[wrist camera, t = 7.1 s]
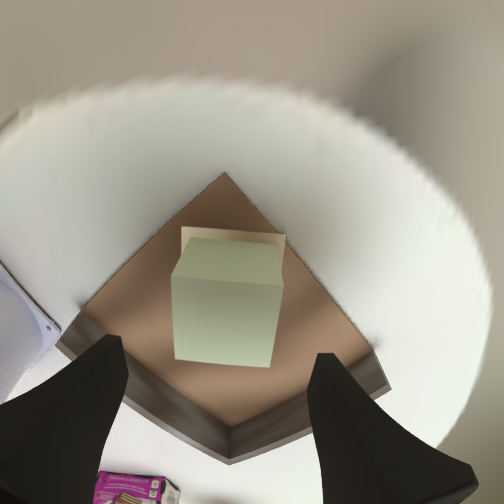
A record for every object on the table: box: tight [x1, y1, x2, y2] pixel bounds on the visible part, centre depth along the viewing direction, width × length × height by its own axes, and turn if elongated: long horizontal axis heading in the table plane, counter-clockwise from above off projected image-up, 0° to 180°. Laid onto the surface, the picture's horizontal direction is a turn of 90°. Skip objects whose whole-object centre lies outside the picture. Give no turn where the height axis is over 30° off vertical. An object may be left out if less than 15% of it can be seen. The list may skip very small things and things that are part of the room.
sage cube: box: [171, 237, 284, 368], centre depth 15 cm, size 4×4×4 cm
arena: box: [55, 172, 392, 465], centre depth 18 cm, size 16×14×4 cm
